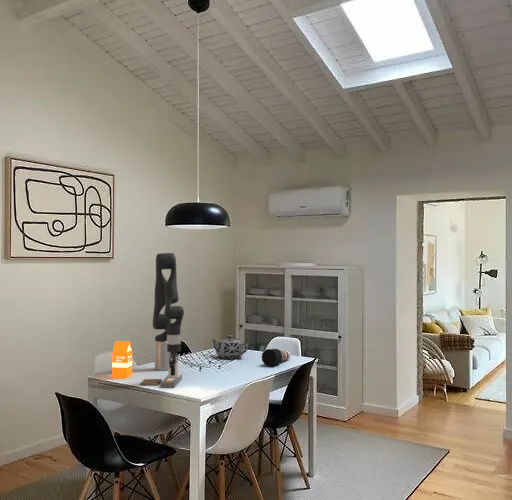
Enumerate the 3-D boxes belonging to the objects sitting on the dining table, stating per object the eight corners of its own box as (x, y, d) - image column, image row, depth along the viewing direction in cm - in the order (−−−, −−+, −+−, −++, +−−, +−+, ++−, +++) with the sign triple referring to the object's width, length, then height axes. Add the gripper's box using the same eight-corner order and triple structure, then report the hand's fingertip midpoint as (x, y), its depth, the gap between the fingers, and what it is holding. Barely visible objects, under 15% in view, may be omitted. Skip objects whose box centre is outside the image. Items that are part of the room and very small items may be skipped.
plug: (169, 375, 303) (169, 360, 303) (178, 375, 303) (178, 360, 303) (168, 377, 299) (168, 361, 299) (177, 377, 299) (177, 361, 299)
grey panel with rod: (172, 375, 315) (172, 370, 315) (184, 375, 315) (184, 370, 315) (160, 387, 285) (160, 381, 285) (174, 387, 285) (174, 381, 285)
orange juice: (117, 375, 316) (117, 340, 316) (132, 375, 315) (132, 340, 315) (111, 378, 308) (112, 342, 309) (126, 378, 307) (127, 342, 307)
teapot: (217, 353, 392) (218, 332, 392) (255, 357, 376) (255, 335, 377) (202, 357, 375) (202, 335, 376) (240, 361, 360) (240, 338, 360)
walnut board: (145, 381, 301) (145, 378, 301) (161, 381, 300) (161, 379, 300) (140, 385, 291) (140, 382, 291) (157, 385, 290) (157, 383, 290)
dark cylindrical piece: (292, 365, 372) (299, 352, 371) (271, 368, 342) (278, 354, 341) (280, 357, 376) (287, 344, 375) (258, 359, 346) (266, 346, 345)
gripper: (169, 340, 309) (169, 371, 308) (164, 344, 295) (164, 377, 294) (182, 341, 308) (182, 371, 308) (178, 344, 294) (178, 377, 294)
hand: (173, 374), depth 301 cm, fingers closed on plug, 4 cm apart
